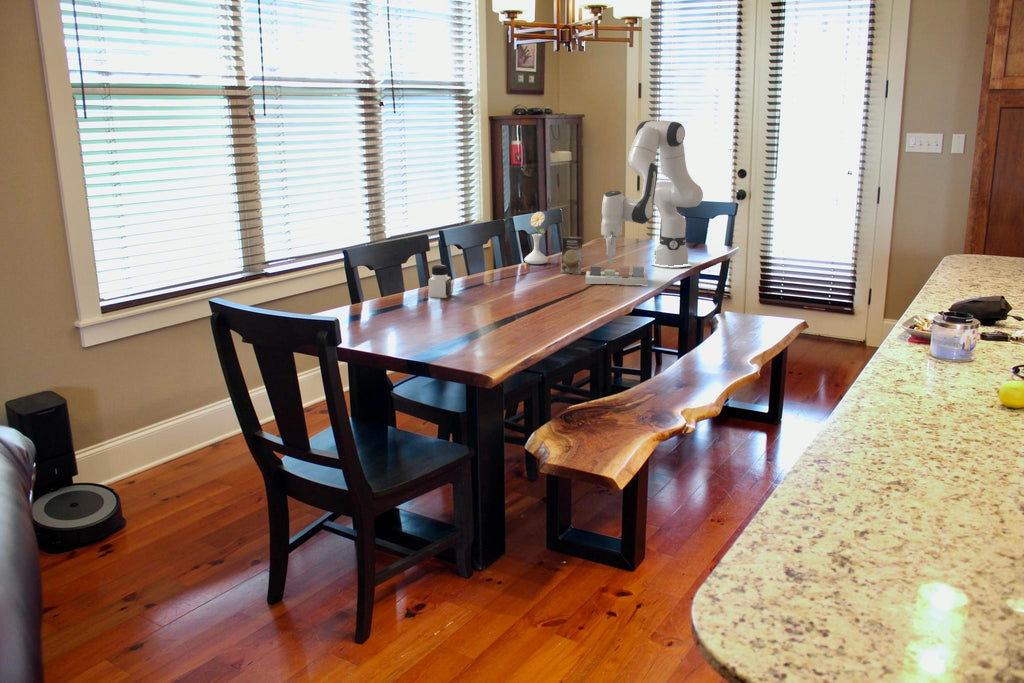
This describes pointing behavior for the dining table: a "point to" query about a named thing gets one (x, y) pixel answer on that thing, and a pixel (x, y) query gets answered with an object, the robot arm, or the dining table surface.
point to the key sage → (609, 272)
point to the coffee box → (571, 254)
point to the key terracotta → (623, 271)
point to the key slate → (638, 271)
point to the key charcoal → (595, 270)
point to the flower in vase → (536, 241)
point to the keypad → (616, 279)
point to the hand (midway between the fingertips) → (610, 262)
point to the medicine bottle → (439, 282)
